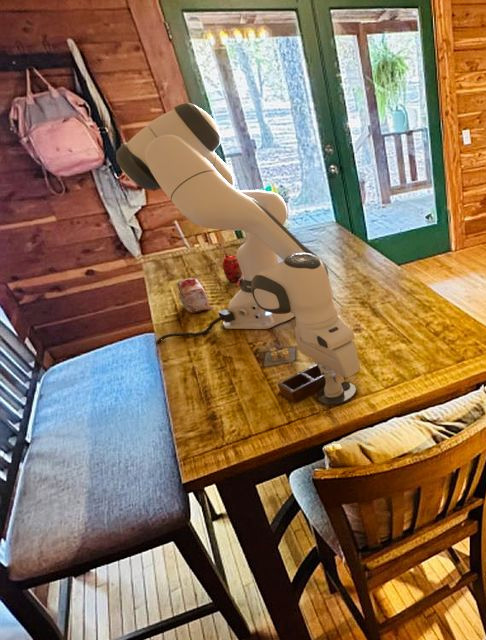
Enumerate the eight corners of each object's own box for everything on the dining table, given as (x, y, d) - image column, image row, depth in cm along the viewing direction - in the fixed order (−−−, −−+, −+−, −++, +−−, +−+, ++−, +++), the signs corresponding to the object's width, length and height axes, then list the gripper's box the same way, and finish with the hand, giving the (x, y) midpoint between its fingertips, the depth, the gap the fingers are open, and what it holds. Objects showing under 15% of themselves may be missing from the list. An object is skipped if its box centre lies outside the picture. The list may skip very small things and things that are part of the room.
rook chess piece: (326, 388, 120) (319, 361, 115) (345, 387, 120) (338, 359, 116) (323, 399, 116) (315, 371, 112) (342, 397, 116) (335, 369, 112)
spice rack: (295, 403, 116) (291, 392, 115) (280, 393, 120) (277, 383, 119) (357, 369, 128) (355, 359, 126) (342, 361, 131) (340, 351, 130)
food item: (214, 309, 165) (203, 282, 160) (188, 317, 161) (176, 289, 156) (205, 297, 174) (195, 271, 169) (180, 304, 170) (169, 277, 165)
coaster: (314, 406, 115) (314, 405, 114) (322, 385, 122) (322, 383, 122) (353, 403, 115) (352, 401, 115) (358, 382, 122) (358, 380, 122)
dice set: (290, 359, 134) (288, 353, 133) (270, 362, 133) (268, 356, 132) (290, 350, 138) (289, 344, 137) (271, 353, 137) (269, 348, 136)
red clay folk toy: (237, 283, 184) (223, 244, 176) (222, 282, 186) (208, 243, 178) (251, 275, 190) (238, 237, 182) (236, 274, 192) (224, 236, 184)
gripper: (282, 319, 113) (297, 370, 120) (333, 346, 101) (347, 400, 108) (306, 309, 117) (319, 359, 124) (358, 334, 105) (369, 387, 112)
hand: (333, 378), depth 116 cm, fingers open, 4 cm apart
